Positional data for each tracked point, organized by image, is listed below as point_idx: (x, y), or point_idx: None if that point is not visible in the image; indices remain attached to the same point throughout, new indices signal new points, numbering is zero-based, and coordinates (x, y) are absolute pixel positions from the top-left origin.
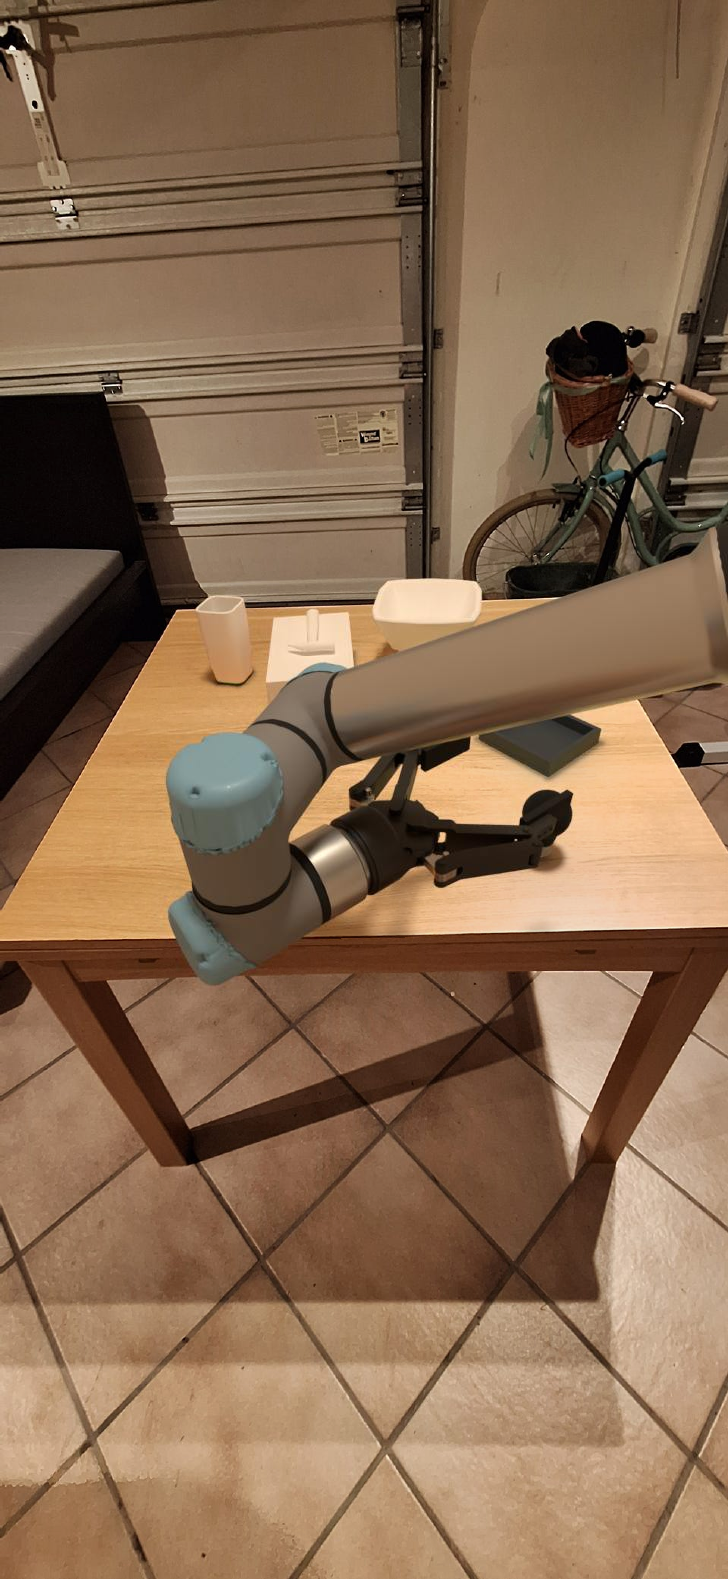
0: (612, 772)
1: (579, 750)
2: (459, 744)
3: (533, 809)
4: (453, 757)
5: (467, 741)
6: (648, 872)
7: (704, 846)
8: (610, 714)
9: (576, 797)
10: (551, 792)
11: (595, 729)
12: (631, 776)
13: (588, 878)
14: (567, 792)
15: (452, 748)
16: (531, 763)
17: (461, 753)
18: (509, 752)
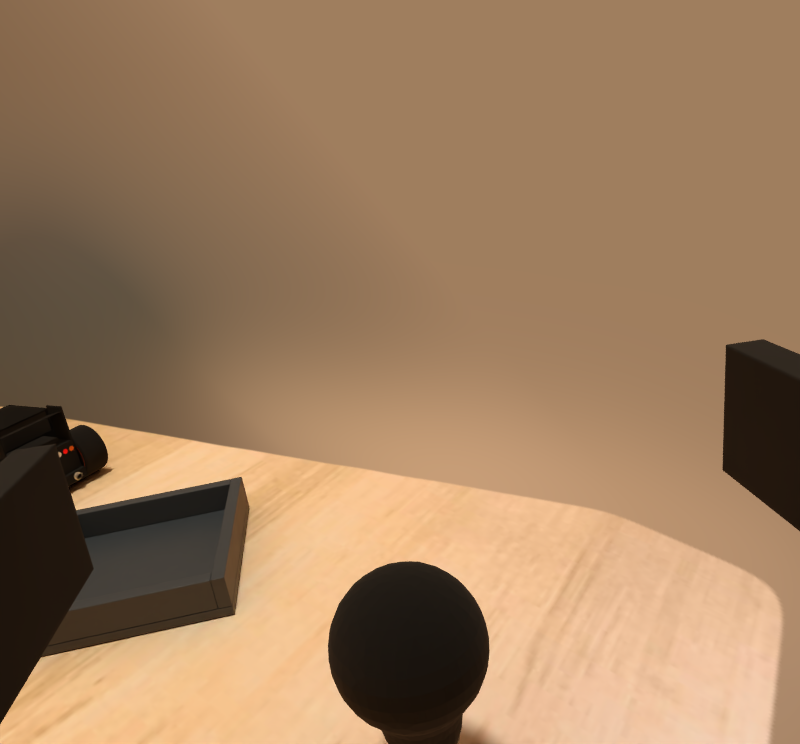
0: (327, 526)
1: (240, 531)
2: (36, 551)
3: (397, 652)
4: (41, 651)
5: (66, 522)
6: (610, 611)
7: (582, 513)
8: (218, 468)
9: (329, 603)
10: (388, 571)
11: (233, 483)
12: (359, 510)
13: (577, 726)
14: (754, 346)
15: (8, 592)
16: (176, 615)
17: (70, 605)
18: (103, 633)
